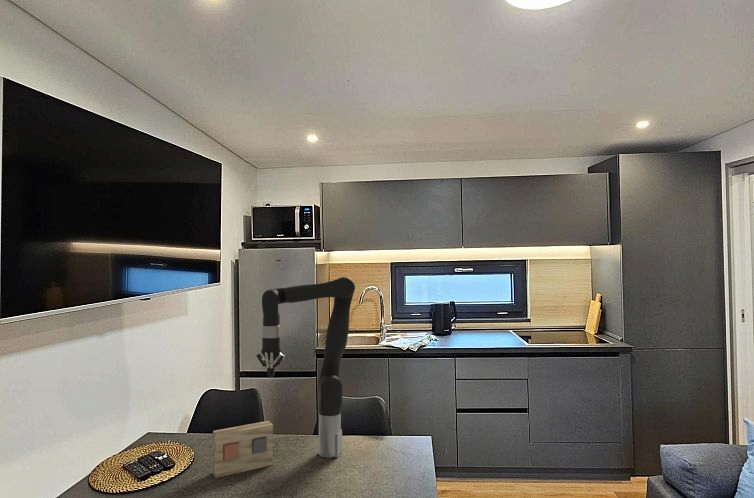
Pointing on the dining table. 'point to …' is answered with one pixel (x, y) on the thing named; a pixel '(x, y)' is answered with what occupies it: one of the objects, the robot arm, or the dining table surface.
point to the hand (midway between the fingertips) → (270, 376)
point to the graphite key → (259, 445)
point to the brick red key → (230, 450)
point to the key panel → (242, 448)
